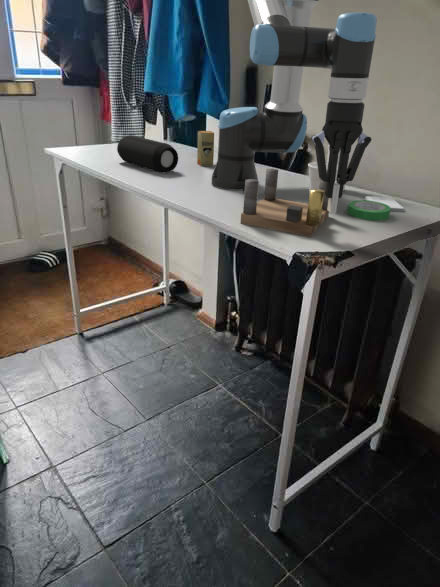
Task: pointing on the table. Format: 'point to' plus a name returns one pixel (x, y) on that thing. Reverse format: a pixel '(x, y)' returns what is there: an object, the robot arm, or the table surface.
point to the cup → (316, 175)
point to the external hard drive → (387, 202)
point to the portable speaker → (148, 153)
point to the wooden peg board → (278, 208)
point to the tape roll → (369, 210)
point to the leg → (315, 207)
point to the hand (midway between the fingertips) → (331, 211)
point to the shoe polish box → (205, 148)
